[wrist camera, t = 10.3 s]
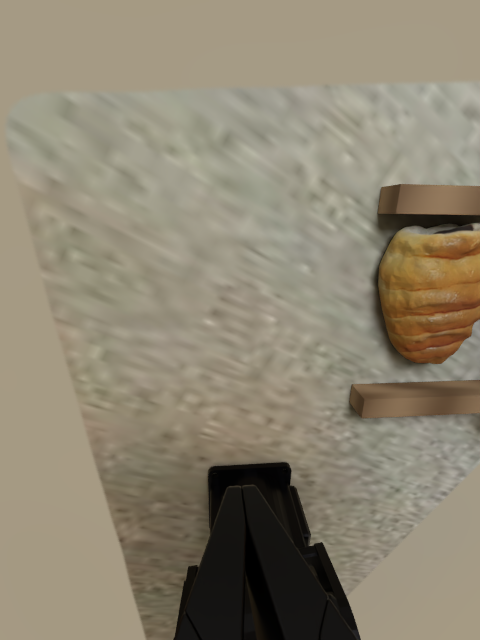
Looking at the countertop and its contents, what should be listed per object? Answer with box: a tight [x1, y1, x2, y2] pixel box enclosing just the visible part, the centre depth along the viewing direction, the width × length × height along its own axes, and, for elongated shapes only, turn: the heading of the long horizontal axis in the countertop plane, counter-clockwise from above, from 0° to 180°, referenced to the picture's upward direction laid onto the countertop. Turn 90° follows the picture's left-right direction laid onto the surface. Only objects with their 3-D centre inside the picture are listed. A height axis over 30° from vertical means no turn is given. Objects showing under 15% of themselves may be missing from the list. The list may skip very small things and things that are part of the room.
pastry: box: [378, 223, 480, 364], centre depth 20 cm, size 9×7×4 cm
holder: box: [349, 184, 480, 418], centre depth 19 cm, size 12×15×5 cm
